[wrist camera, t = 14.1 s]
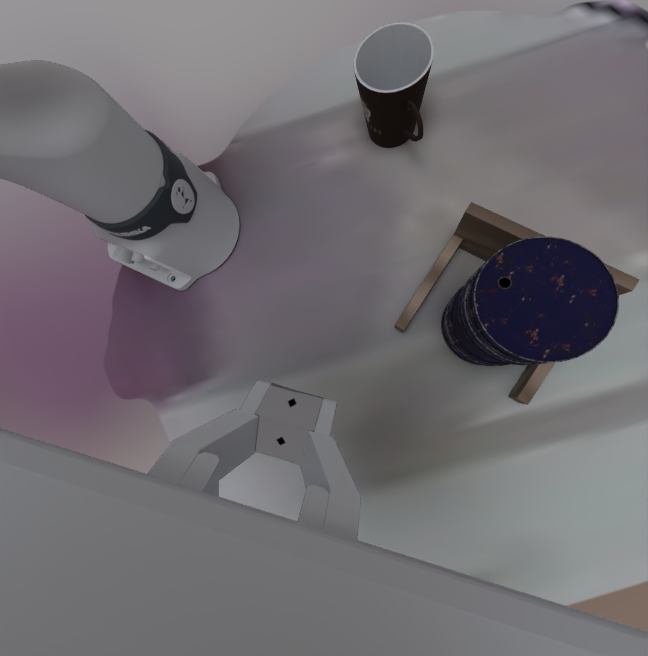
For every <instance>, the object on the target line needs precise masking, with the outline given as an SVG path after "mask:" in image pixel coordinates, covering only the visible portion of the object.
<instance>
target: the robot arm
mask: <svg viewBox="0 0 648 656" xmlns="http://www.w3.org/2000/svg"><path fill="white" fill-rule="evenodd" d="M0 179H4V180H7V181H10V182H13V183H16V184H19V185H21V186H24V187H26V188H29V189H31V190H33V191H36V192H38V193H40V194H43V195H45V196H47V197H50V198H51V199H54V200H56V201H58V202H60V203H62V204H64V205H66V206H68V207H71V208H73V209H75V210H77V211H79V212H81V213H83V214H84V215H85V216H86V217H87V218H88V219H89V220H90V221H92V225H93V230H94V233H95V235H96V236H97V237H98V238H99V239H101V240H104V241H106V242H107V246H108V253H109V257H110V258H112V259H113V260H115V261H116V262H118V263H121V264H123V265H125V266H127V267H129V268H131V269H133V270H136V271H138V272H140V273H142V274H144V275H146V276H148V277H151V278H153V279H155V280H157V281H159V282H161V283H164V284H166V285H168V286H170V287H172V288H174V289H176V290H179V291H184V290H186V289H187V288H188V287H190V286H191V285H192V284H193V283H194V282H195V281H196V279H198V278H199V277H201V276H203V275H205V274H208V273H210V272H212V271H213V270H215V269H216V268H218V267H219V266H220V265H221V264H222V263H223V262H224V261H225V260H226V259H227V258H228V257H229V255H230V254H231V252H232V251H233V249H234V247H235V244H236V242H237V239H238V234H239V216H238V212H237V209H236V207H235V205H234V203H233V202H232V201H231V199H230V198H229V197H228V196H227V195H226V194H225V193H224V192H223V190H222V188H221V185H220V182H219V179H218V178H217V176H216V175H214V174H213V173H212V172H203V171H202V170H201V169H199V168H198V167H197V166H196V165H195V164H194V163H193V162H191V161H190V160H189V159H188V158H187V157H186V156H184V155H183V154H182V153H180V152H178V151H176V152H173V151H172V150H171V149H170V147H169V146H167V145H166V144H165V143H164V142H163V141H162V140H160V139H159V138H158V137H157V136H155V135H154V134H153V133H151V132H149V131H147V130H144V129H143V128H142V127H141V126H140V125H139V124H138V123H137V122H136V121H135V120H134V119H133V118H132V117H131V116H130V115H129V114H128V113H127V112H126V111H125V110H124V109H123V108H122V107H121V106H120V105H119V104H118V103H117V102H116V101H115V100H114V99H113V98H112V97H111V96H110V95H109V94H108V93H107V92H106V91H105V90H104V89H103V88H102V87H101V86H100V85H99V84H98V83H97V82H95V81H94V80H93V79H92V78H90V77H89V76H87V75H85V74H83V73H82V72H79V71H77V70H75V69H73V68H70V67H67V66H64V65H60V64H57V63H53V62H48V61H42V60H33V61H32V60H31V61H22V62H15V63H8V64H0ZM175 278H176V279H175ZM174 279H175V281H174ZM322 401H323V402H322ZM336 406H337V401H334V400H330V399H326V398H324V399H323V398H322V397H319V396H315V395H311V394H308V393H304V392H300V391H296V390H293V389H290V388H287V387H284V386H280V385H277V384H274V383H269V382H266V381H263V380H260V379H259V380H258V381H257V382H256V383H255V385H254V386H253V388H252V390H251V391H250V393H249V395H248V396H247V398H246V400H245V401H244V403H243V405H242V406H241V408H240V410H237V409H235V410H233V411H231V412H229V413H227V414H225V415H223V416H221V417H219V418H217V419H215V420H213V421H211V422H209V423H207V424H205V425H203V426H201V427H199V428H197V429H195V430H193V431H191V432H189V433H187V434H185V435H183V436H181V437H179V438H177V439H175V440H173V441H172V442H171V444H170V445H169V446H168V448H167V449H166V450H165V451H164V453H163V454H162V455H161V457H160V458H159V459H158V461H157V462H156V463H155V465H154V466H153V467H152V468H151V470H150V471H149V472H148V474H145V473H141V472H138V471H135V470H132V469H129V468H126V467H123V466H119V465H116V464H113V463H110V462H107V461H103V460H100V459H97V458H94V457H91V456H87V455H84V454H81V453H78V452H75V451H71V450H69V449H65V448H62V447H59V446H56V445H53V444H49V443H46V442H43V441H40V440H37V439H34V438H30V437H27V436H24V435H21V434H18V433H14V432H11V431H8V430H5V429H2V428H0V656H648V632H647V631H644V630H641V629H638V628H634V627H631V626H628V625H625V624H622V623H619V622H615V621H612V620H609V619H606V618H603V617H599V616H596V615H593V614H590V613H587V612H584V611H580V610H577V609H574V608H571V607H568V606H564V605H561V604H558V603H555V602H552V601H549V600H545V599H542V598H539V597H536V596H533V595H529V594H526V593H523V592H520V591H517V590H514V589H510V588H507V587H504V586H501V585H498V584H494V583H491V582H488V581H485V580H482V579H479V578H475V577H472V576H469V575H466V574H463V573H460V572H456V571H453V570H450V569H447V568H444V567H440V566H437V565H434V564H431V563H428V562H425V561H421V560H418V559H415V558H412V557H409V556H406V555H402V554H399V553H396V552H393V551H390V550H386V549H383V548H380V547H377V546H374V545H371V544H367V543H364V542H361V541H358V540H357V536H358V526H359V515H360V504H361V497H360V495H359V493H358V491H357V488H356V486H355V484H354V482H353V480H352V477H351V475H350V473H349V471H348V469H347V466H346V464H345V462H344V460H343V457H342V455H341V453H340V451H339V449H338V446H337V444H336V442H335V440H334V438H332V437H330V433H331V429H332V424H333V420H334V415H335V411H336ZM255 452H258V453H262V454H266V455H269V456H273V457H277V458H280V459H283V460H286V461H289V462H292V463H295V464H298V465H301V470H302V474H303V478H304V482H305V486H306V493H305V497H304V500H303V504H302V507H301V511H300V514H299V518H298V521H294V520H291V519H288V518H285V517H281V516H278V515H275V514H272V513H269V512H265V511H262V510H259V509H256V508H253V507H250V506H246V505H243V504H240V503H237V502H234V501H231V500H227V499H224V498H221V497H219V480H220V479H221V478H223V477H224V476H225V475H227V474H228V473H229V472H231V471H232V470H233V469H234V468H236V467H237V466H238V465H240V464H241V463H242V462H244V461H245V460H246V459H247V458H249V457H250V456H251V455H253V454H254V453H255Z"/></svg>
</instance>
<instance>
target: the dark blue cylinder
mask: <svg viewBox="0 0 648 656" xmlns="http://www.w3.org/2000/svg"><path fill="white" fill-rule="evenodd" d="M618 308H619V295H618V290H617V285H616V283H615V280H614V278H613V276H612V274H611V272H610V271H609V269H608V268H607V266H606V265H605V264H604V263H603V262H602V261H601V259H600V258H599V257H597V256H596V255H595V254H594V253H593V252H591V251H590V250H588V249H587V248H585V247H583V246H582V245H579V244H577V243H575V242H572V241H569V240H565V239H562V238H556V237H532V238H526V239H522V240H519V241H516V242H513V243H511V244H509V245H507V246H505V247H504V248H502V249H500V250H499V251H498V252H496V253H495V254H494V255H493V256H492V257H491V258H490V259H489V260H488V261H487V262H485V263H484V264H483V265H482V266H481V267H480V268H479V269H478V270H477V271H476V272H475V273H474V274H473V275H472V276H471V277H470V279H469V280H468V281H467V283H466V284H465V285H464V286H463V287H462V288H460V289H459V290H458V291H457V293H456V294H455V295H454V297H453V298H452V299H451V301H450V302H449V304H448V305H447V307H446V308H445V311H444V313H443V316H442V324H441V327H442V334H443V337H444V339H445V342H446V344H447V345H448V347H449V348H450V349H451V350H452V351H453V352H454V353H455V354H456V355H457V356H458V357H460V358H461V359H463V360H465V361H467V362H470V363H473V364H477V365H485V366H503V365H509V364H514V365H533V364H545V363H549V362H562V361H566V360H571V359H574V358H577V357H579V356H582V355H584V354H586V353H588V352H589V351H591V350H593V349H594V348H595V347H597V346H598V345H599V344H600V343H601V342H602V341H603V340H604V339H605V338H606V337H607V335H608V334H609V333H610V331H611V329H612V328H613V326H614V323H615V321H616V318H617V314H618Z"/></svg>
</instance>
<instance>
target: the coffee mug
mask: <svg viewBox="0 0 648 656" xmlns="http://www.w3.org/2000/svg"><path fill="white" fill-rule="evenodd" d="M433 57H434V44H433V41H432V39H431V36H430V35H429V34H428V33H427V31H426V30H424V29H423V28H422V27H420V26H418V25H416V24H412V23H408V22H397V23H390V24H387V25H384V26H382V27H380V28H377V29H376V30H374V31H373V32H371V33H370V34H369V35H368V36H367V37H366V38H364V40H363V41H362V42H361V44H360V45H359V47H358V49H357V50H356V53H355V56H354V63H353V66H354V72H355V77H356V81H357V85H358V89H359V93H360V98H361V102H362V106H363V110H364V115H365V119H366V123H367V127H368V131H369V135H370V138H371V139H372V141H373V142H374V143H375V144H377V145H378V146H381V147H384V148H393V147H397V146H400V145H402V144H403V143H405V142H406V141H407V140H408V139H410V140H412V141H418V140H420V139H422V137H423V123H422V119H421V116H420V113H419V110H420V106H421V102H422V99H423V95H424V91H425V87H426V84H427V80H428V76H429V72H430V69H431V65H432V61H433ZM416 121H417V124H418V136H415V135H413V132H414V129H415V125H416Z"/></svg>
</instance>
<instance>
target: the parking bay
mask: <svg viewBox="0 0 648 656" xmlns="http://www.w3.org/2000/svg"><path fill="white" fill-rule="evenodd" d="M532 237H546V236H544V235H542V234H539V233H537V232H535V231H533V230H531V229H529V228H526V227H524V226H522V225H520V224H518V223H516V222H513V221H511V220H509V219H507V218H505V217H503V216H500V215H498V214H496V213H494V212H492V211H490V210H487V209H485V208H483V207H481V206H479V205H477V204H474V203H472V202H471V203H470V205H469V206H468V208H467V210H466V211H465V213H464V215H463V217H462V219H461V221H460V223H459V225H458V227H457V229H456V231H455V233H454V235H453V237H452V238H451V240H450V241H449V243H448V244H447V246H446V247H445V249H444V251H443V252H442V254H441V255H440V257H439V258H438V260H437V261H436V263H435V265H434V266H433V268H432V269H431V271H430V272H429V274H428V275H427V277H426V278H425V280H424V282H423V283H422V285H421V286H420V288H419V289H418V291H417V292H416V294H415V295H414V297H413V299H412V300H411V302H410V303H409V305H408V306H407V308H406V309H405V311H404V313H403V314H402V316H401V317H400V319H399V320H398V322H397V323H396V325H395V328H396V329H398V330H400V331H401V332H404V331H405V329H406V327H407V326H408V324H409V323H410V321H411V320H412V318H413V317H414V315H415V314H416V312H417V310H418V309H419V307H420V306H421V304H422V303H423V301H424V300H425V298H426V297H427V295H428V293H429V292H430V290H431V289H432V287H433V286H434V284H435V283H436V281H437V279H438V278H439V276H440V275H441V273H442V272H443V270H444V269H445V267H446V266H447V264H448V262H449V261H450V259H451V258H452V256H453V255H454V253H455V252H456V250H457V249H458V247H459V248H461V249H463V250H465V251H467V252H469V253H471V254H473V255H475V256H477V257H479V258H481V259H483V260H485V261H488V260H489V259H490V258H491V257H492V256H493V255H494V254H495V253H496V252H498V251H499V250H500V249H502V248H504V247H505V246H507V245H509V244H511V243H513V242H516V241H519V240H522V239H526V238H532ZM605 265H606V266H607V268H608V269H609V271H610V272H611V274H612V276H613V278H614V280H615V283H616V285H617V290H618V295H621V294H624V293H627V292H630V291H633V289H634V288H635V286H636V284H637V283H638V281H639V279H637V278H635V277H633V276H630V275H628V274H626V273H624V272H622V271H620V270H617V269H615V268H613V267H611V266H609V265H607V264H605ZM554 363H555V362H549V363H545V364H533V365H528V367H527V368H526V370H525V371H524V373H523V374H522V376H521V378H520V379H519V381H518V382H517V384H516V385H515V387H514V388H513V390H512V391H511V393H510V395H509V397H510V398H512V399H514V400H515V401H517V402H519V403H523V404H527V405H528V404H529V402H530V401H531V399H532V398H533V396H534V394H535V393H536V391H537V390H538V388H539V387H540V385H541V384H542V382H543V380H544V379H545V377H546V376H547V374H548V373H549V371H550V370H551V368H552V367H553V365H554Z"/></svg>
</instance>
